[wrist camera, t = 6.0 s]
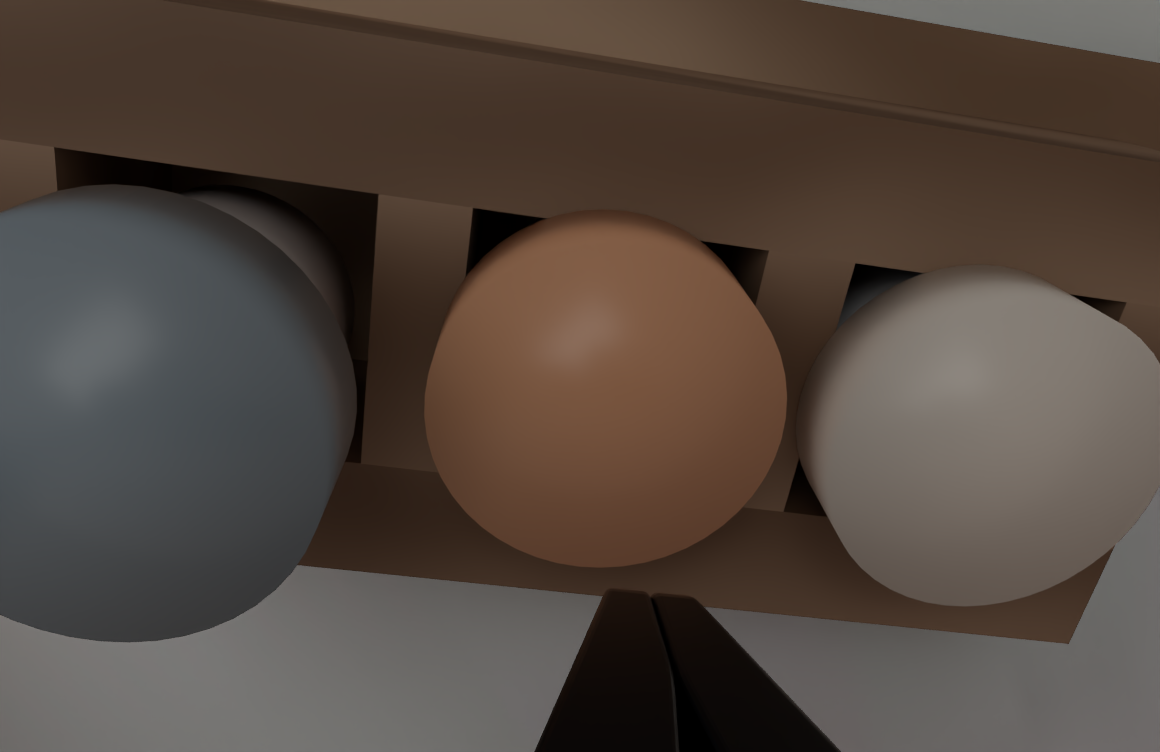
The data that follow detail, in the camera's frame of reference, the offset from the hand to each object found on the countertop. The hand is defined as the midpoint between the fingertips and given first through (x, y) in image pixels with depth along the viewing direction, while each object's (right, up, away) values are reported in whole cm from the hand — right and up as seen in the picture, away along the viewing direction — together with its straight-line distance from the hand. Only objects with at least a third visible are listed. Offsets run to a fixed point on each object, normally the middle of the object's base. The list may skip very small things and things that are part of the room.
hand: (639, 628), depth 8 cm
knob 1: (-6, +4, +6) cm, 9 cm away
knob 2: (+6, +3, +10) cm, 12 cm away
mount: (0, +4, +10) cm, 11 cm away
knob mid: (0, +4, +9) cm, 10 cm away
